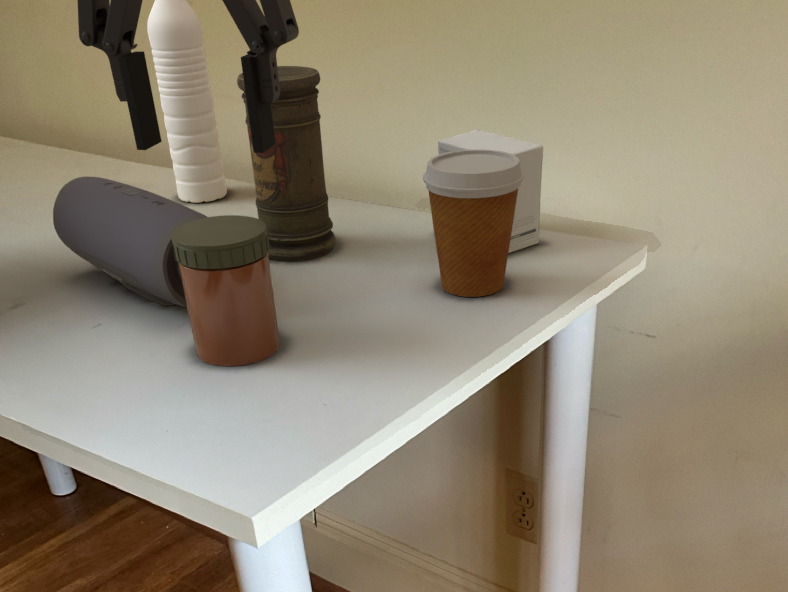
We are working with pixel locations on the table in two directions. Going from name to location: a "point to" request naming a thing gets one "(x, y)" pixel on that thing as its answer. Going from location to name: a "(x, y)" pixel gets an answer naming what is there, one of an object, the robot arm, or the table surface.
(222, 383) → the table surface
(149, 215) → the bluetooth speaker
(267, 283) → the jar
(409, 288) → the table surface
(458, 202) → the disposable coffee cup
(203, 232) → the lid
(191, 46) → the water bottle
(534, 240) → the cosmetics box
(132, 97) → the robot arm
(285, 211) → the container
